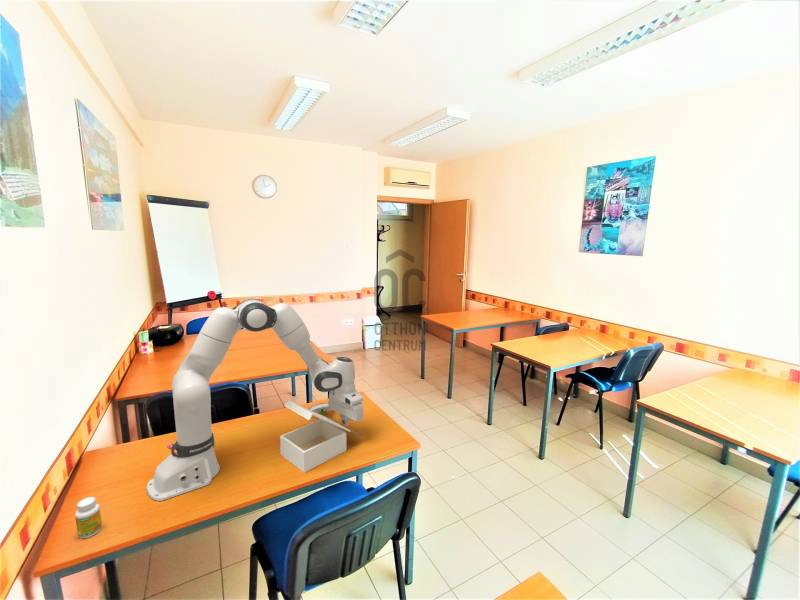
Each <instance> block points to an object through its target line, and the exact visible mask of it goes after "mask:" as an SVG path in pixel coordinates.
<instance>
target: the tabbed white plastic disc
mask: <svg viewBox="0 0 800 600" xmlns="http://www.w3.org/2000/svg"><path fill="white" fill-rule="evenodd" d="M308 409H309V410H311V411H314V412H318V413H320V415H323V416H325V414H324V412H327V411H329V410H331V409H330V408H329V406H328V402H321V403H318V404H314V405H312V406H311V407H310V408H308ZM323 411H324V412H323Z"/></svg>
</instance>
